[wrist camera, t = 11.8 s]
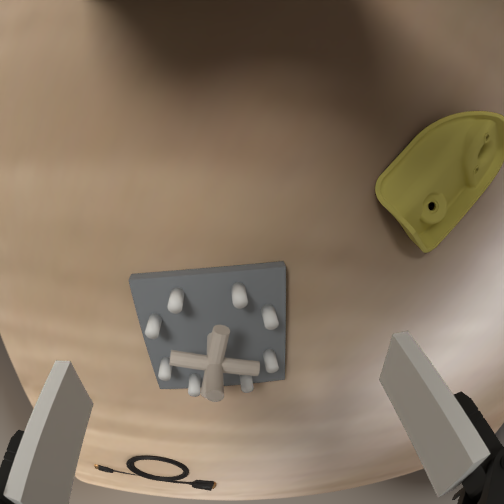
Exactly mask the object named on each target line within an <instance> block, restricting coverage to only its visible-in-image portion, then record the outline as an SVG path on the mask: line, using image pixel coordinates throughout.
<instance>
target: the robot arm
mask: <svg viewBox="0 0 504 504" xmlns="http://www.w3.org/2000/svg"><path fill="white" fill-rule="evenodd" d="M379 380H380V382H381V384H382V386H383V388H384V389H385V391H386V393H387V395H388V397H389V399H390V401H391V403H392V405H393V407H394V409H395V410H396V412H397V414H398V416H399V418H400V420H401V422H402V424H403V426H404V428H405V430H406V432H407V434H408V436H409V438H410V440H411V442H412V444H413V446H414V448H415V450H416V452H417V454H418V456H419V458H420V461H421V463H422V465H423V467H424V469H425V471H426V473H427V475H428V477H429V480H430V482H431V483H432V486H433V488H434V490H435V492H436V495H437V497H440V496H442V495H444V494H446V493H448V492H450V491H452V490H454V489H455V488H456V487H457V486H458V485H460V484H461V483H462V485H463V488H462V489H461V490H459V491H458V492H457V493H456V494H455V495H454V497H453V499H452V500H455V499H456V498H457V497H459V496H460V497H459V499H458V504H504V447H503V446H502V444H501V443H500V442H499V440H498V438H497V437H496V435H495V434H494V432H493V431H492V429H491V427H490V426H489V424H488V423H487V421H486V420H485V418H483V415H482V414H481V412H480V411H478V408H477V406H476V405H475V404H474V402H473V401H472V399H471V398H469V397H468V396H467V395H465V394H464V393H463V392H459V393H457V394H454V395H453V394H452V392H451V391H450V389H449V388H448V386H447V385H446V383H445V382H444V380H443V379H442V377H441V376H440V375H439V373H438V372H437V370H436V369H435V368H434V366H433V365H432V363H431V362H430V360H429V359H428V358H427V356H426V355H425V354H424V352H423V351H422V349H421V348H420V347H419V345H418V344H417V343H416V341H415V340H414V339H413V337H412V336H411V334H410V333H409V332H408V331H405V332H401V333H396V334H393V335H392V338H391V342H390V345H389V349H388V352H387V356H386V359H385V362H384V366H383V369H382V372H381V375H380V378H379ZM92 407H93V402H92V400H91V398H90V397H89V395H88V393H87V391H86V390H85V388H84V386H83V384H82V382H81V380H80V379H79V377H78V375H77V373H76V371H75V369H74V367H73V365H72V363H71V361H58V360H56V361H55V363H54V365H53V367H52V370H51V372H50V374H49V376H48V378H47V380H46V382H45V384H44V387H43V389H42V391H41V393H40V396H39V398H38V400H37V402H36V405H35V407H34V409H33V412H32V414H31V417H30V419H29V422H28V424H27V427H26V429H25V431H21V430H18V431H17V432H16V433H15V434H14V436H13V437H12V438H11V440H10V442H9V445H8V448H7V452H6V453H5V456H4V460H3V461H2V464H1V467H0V504H69V499H70V494H71V490H72V485H73V480H74V476H75V471H76V467H77V463H78V459H79V455H80V451H81V447H82V443H83V439H84V435H85V432H86V428H87V424H88V421H89V417H90V414H91V411H92Z"/></svg>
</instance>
